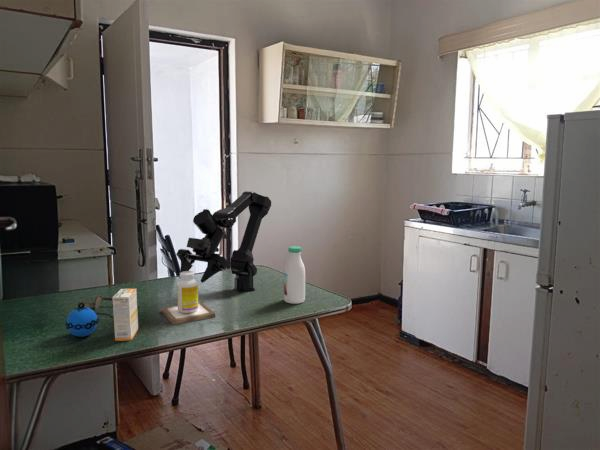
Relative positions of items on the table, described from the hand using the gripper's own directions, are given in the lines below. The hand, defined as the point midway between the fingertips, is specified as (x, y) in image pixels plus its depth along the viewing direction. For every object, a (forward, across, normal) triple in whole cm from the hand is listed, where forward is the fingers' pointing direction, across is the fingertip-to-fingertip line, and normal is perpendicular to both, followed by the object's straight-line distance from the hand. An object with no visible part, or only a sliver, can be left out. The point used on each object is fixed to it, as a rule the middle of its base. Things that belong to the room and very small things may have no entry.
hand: (190, 280), depth 155 cm
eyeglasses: (+18, -23, -1) cm, 29 cm away
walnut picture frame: (+9, 0, +6) cm, 11 cm away
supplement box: (+25, -3, -10) cm, 27 cm away
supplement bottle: (+8, 0, +6) cm, 10 cm away
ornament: (+30, -14, -14) cm, 36 cm away
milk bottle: (-12, +24, +28) cm, 39 cm away
